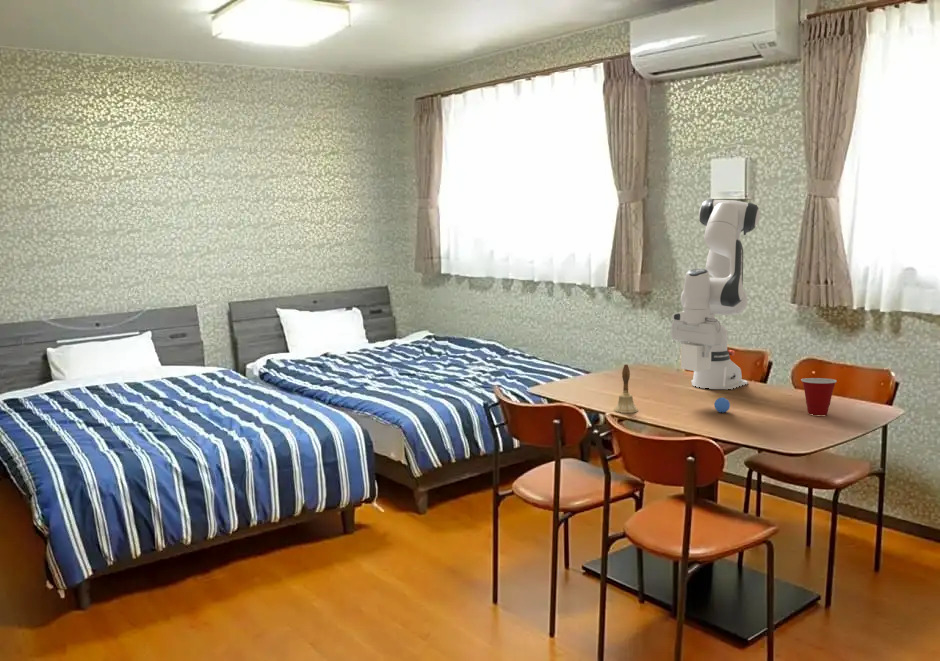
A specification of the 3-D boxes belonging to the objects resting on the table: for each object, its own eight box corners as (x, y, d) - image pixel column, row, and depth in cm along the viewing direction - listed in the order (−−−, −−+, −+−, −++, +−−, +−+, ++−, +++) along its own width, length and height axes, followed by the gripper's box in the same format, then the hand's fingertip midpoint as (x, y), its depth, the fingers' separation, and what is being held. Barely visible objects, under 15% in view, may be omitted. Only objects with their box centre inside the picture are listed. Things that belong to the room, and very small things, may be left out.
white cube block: (695, 365, 292) (695, 341, 290) (710, 369, 286) (711, 344, 284) (680, 368, 288) (681, 343, 287) (696, 371, 282) (697, 346, 281)
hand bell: (608, 409, 283) (609, 363, 281) (629, 406, 287) (629, 361, 284) (622, 414, 276) (622, 367, 274) (643, 411, 279) (643, 365, 277)
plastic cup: (827, 410, 276) (828, 375, 274) (840, 418, 265) (842, 381, 264) (794, 410, 276) (796, 375, 275) (806, 418, 266) (808, 382, 264)
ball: (720, 409, 279) (721, 395, 279) (732, 412, 275) (733, 398, 275) (711, 412, 277) (711, 397, 276) (723, 414, 273) (723, 400, 272)
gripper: (726, 318, 277) (725, 358, 279) (680, 312, 294) (680, 350, 296) (713, 320, 274) (713, 360, 276) (668, 314, 291) (668, 352, 293)
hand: (695, 355), depth 286 cm, fingers closed on white cube block, 7 cm apart
